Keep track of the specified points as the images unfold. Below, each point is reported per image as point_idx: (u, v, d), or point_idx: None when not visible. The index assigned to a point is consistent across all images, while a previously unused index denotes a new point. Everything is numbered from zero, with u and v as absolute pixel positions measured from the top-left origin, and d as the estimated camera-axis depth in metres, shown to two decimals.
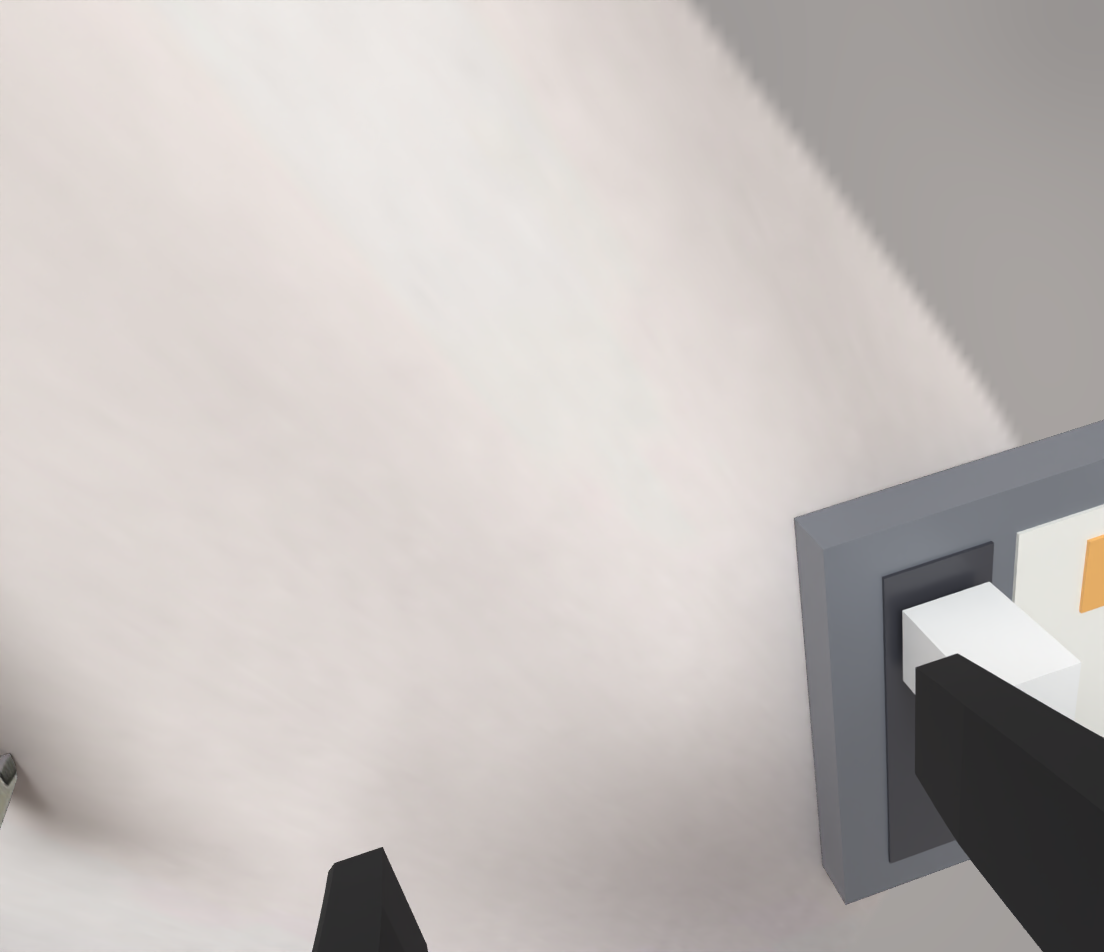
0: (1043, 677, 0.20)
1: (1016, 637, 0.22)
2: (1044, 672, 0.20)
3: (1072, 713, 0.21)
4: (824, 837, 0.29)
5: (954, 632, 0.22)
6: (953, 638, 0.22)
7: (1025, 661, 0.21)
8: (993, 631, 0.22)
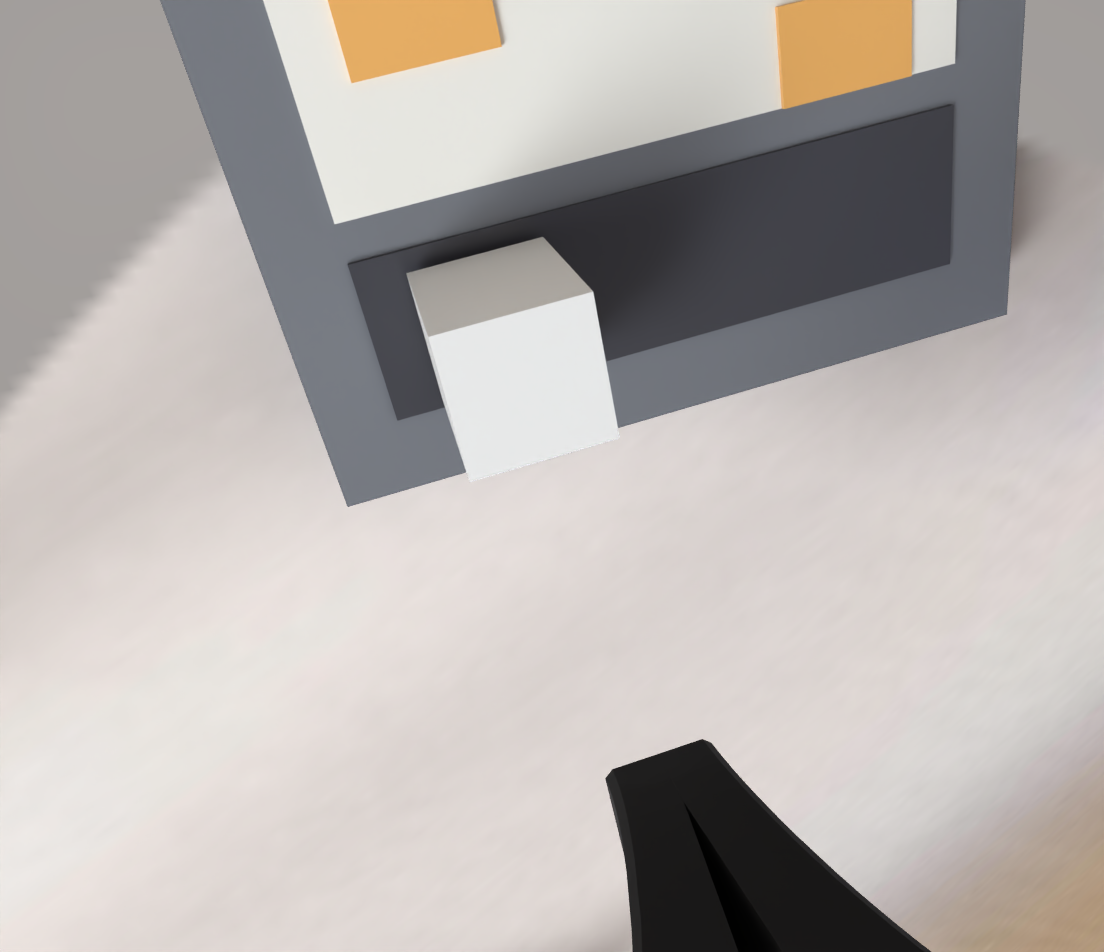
0: (448, 396, 0.13)
1: (430, 350, 0.14)
2: (443, 390, 0.13)
3: (538, 312, 0.13)
4: None
5: (442, 395, 0.15)
6: (445, 406, 0.15)
7: (442, 388, 0.14)
8: (433, 360, 0.15)
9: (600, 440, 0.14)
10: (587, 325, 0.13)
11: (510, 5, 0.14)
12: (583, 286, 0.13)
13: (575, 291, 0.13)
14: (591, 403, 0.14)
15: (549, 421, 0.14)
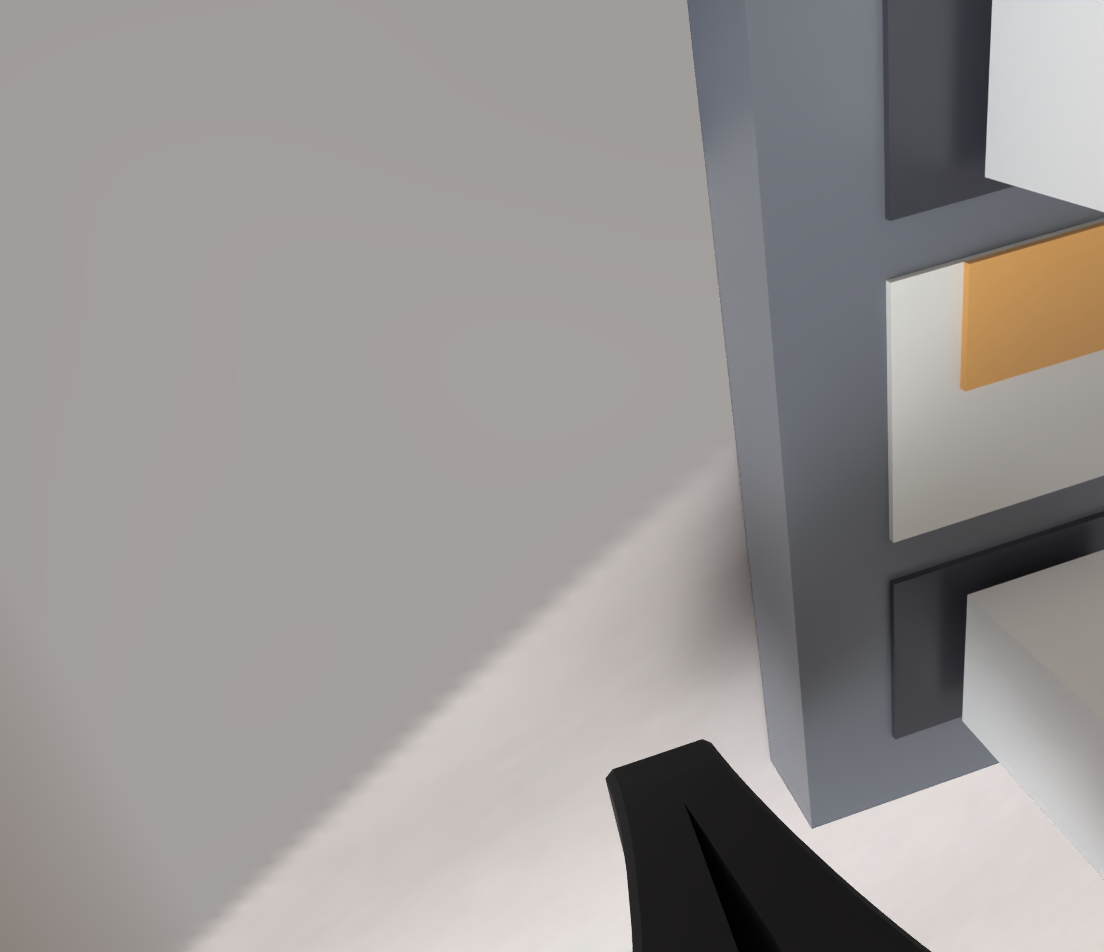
0: None
1: (1065, 732, 0.11)
2: None
3: None
4: None
5: (1019, 750, 0.12)
6: (1026, 766, 0.12)
7: None
8: (1041, 728, 0.12)
9: None
10: None
11: None
12: None
13: None
14: None
15: None
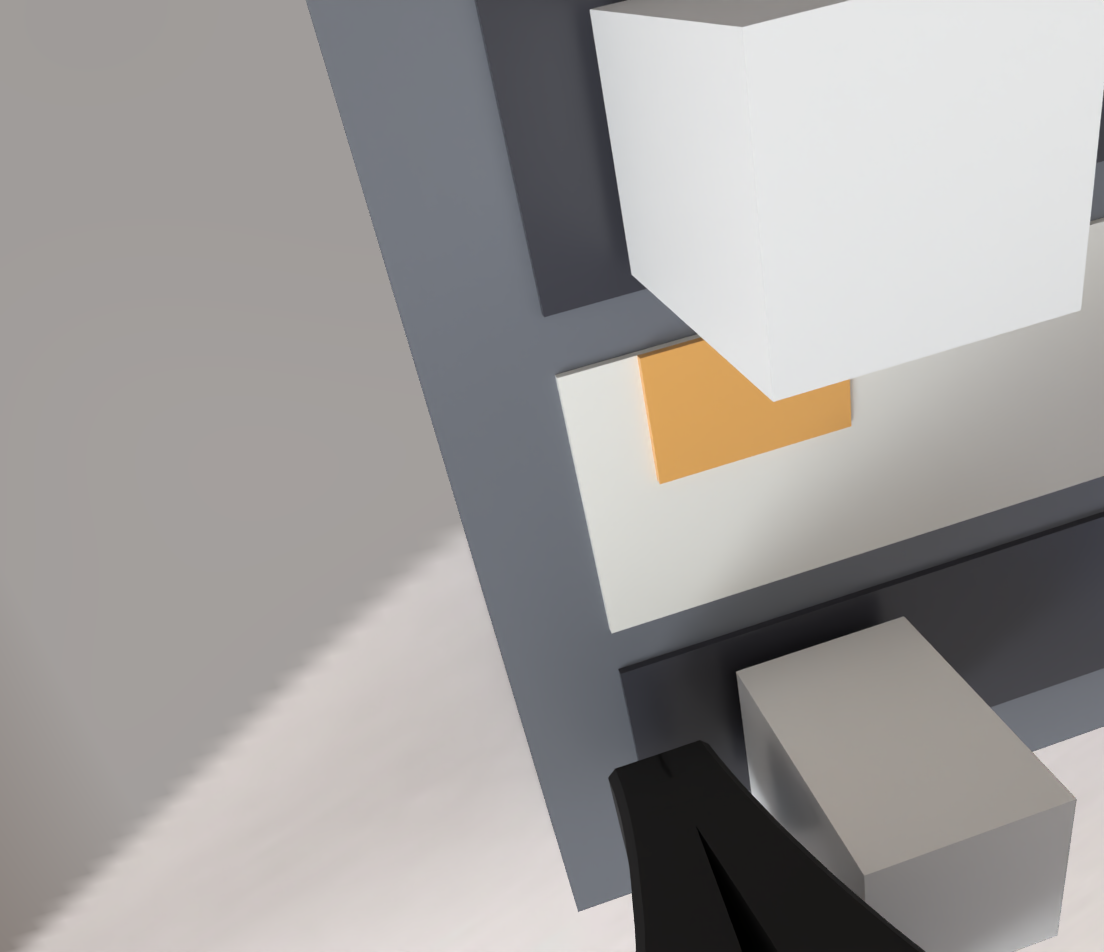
0: None
1: (809, 823, 0.11)
2: None
3: (1005, 830, 0.10)
4: None
5: None
6: None
7: None
8: (795, 815, 0.11)
9: (1034, 941, 0.11)
10: (1057, 834, 0.10)
11: (867, 376, 0.11)
12: (1051, 779, 0.10)
13: (1046, 792, 0.10)
14: (1036, 907, 0.10)
15: (982, 934, 0.10)
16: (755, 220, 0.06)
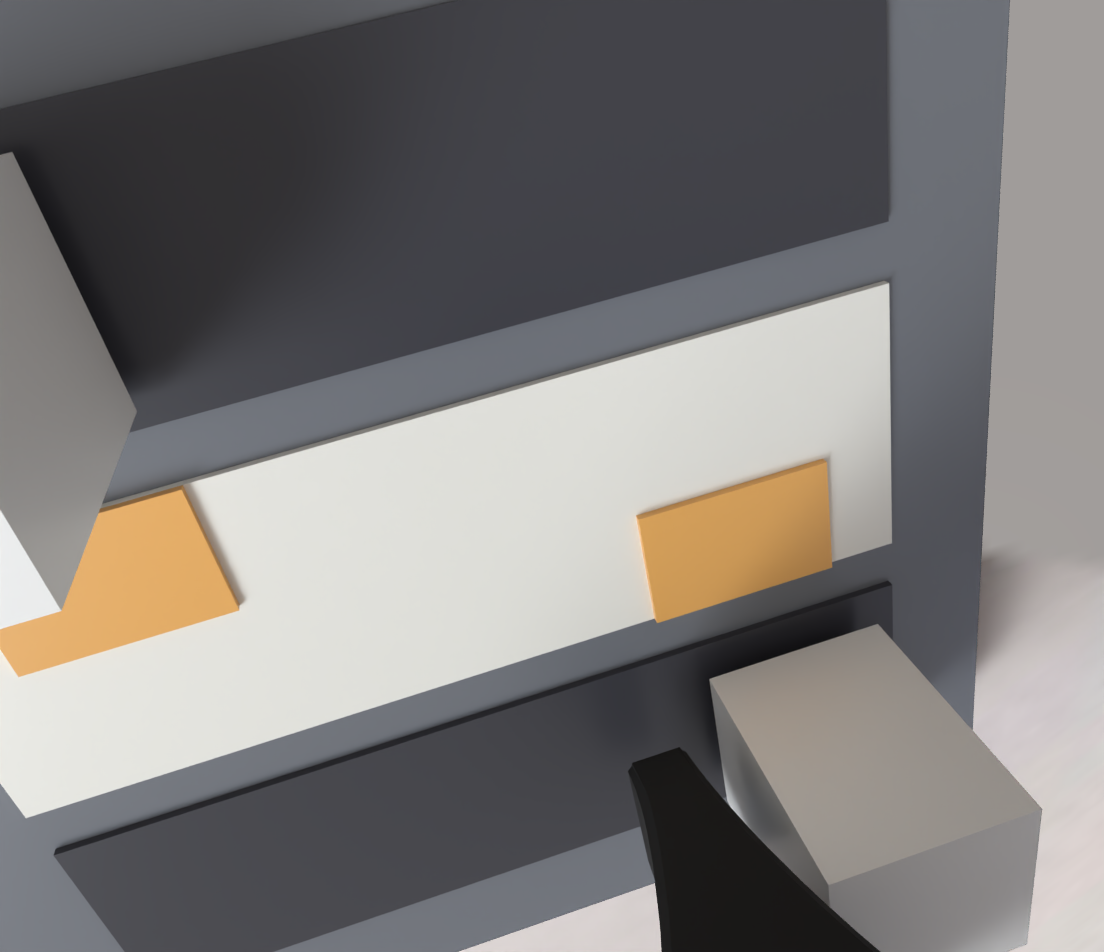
0: None
1: (778, 831, 0.11)
2: None
3: (969, 840, 0.10)
4: None
5: None
6: None
7: None
8: (766, 823, 0.11)
9: (1003, 950, 0.11)
10: (1024, 844, 0.10)
11: (248, 559, 0.10)
12: (1017, 788, 0.10)
13: (1011, 801, 0.10)
14: (1004, 916, 0.10)
15: (949, 942, 0.10)
16: None
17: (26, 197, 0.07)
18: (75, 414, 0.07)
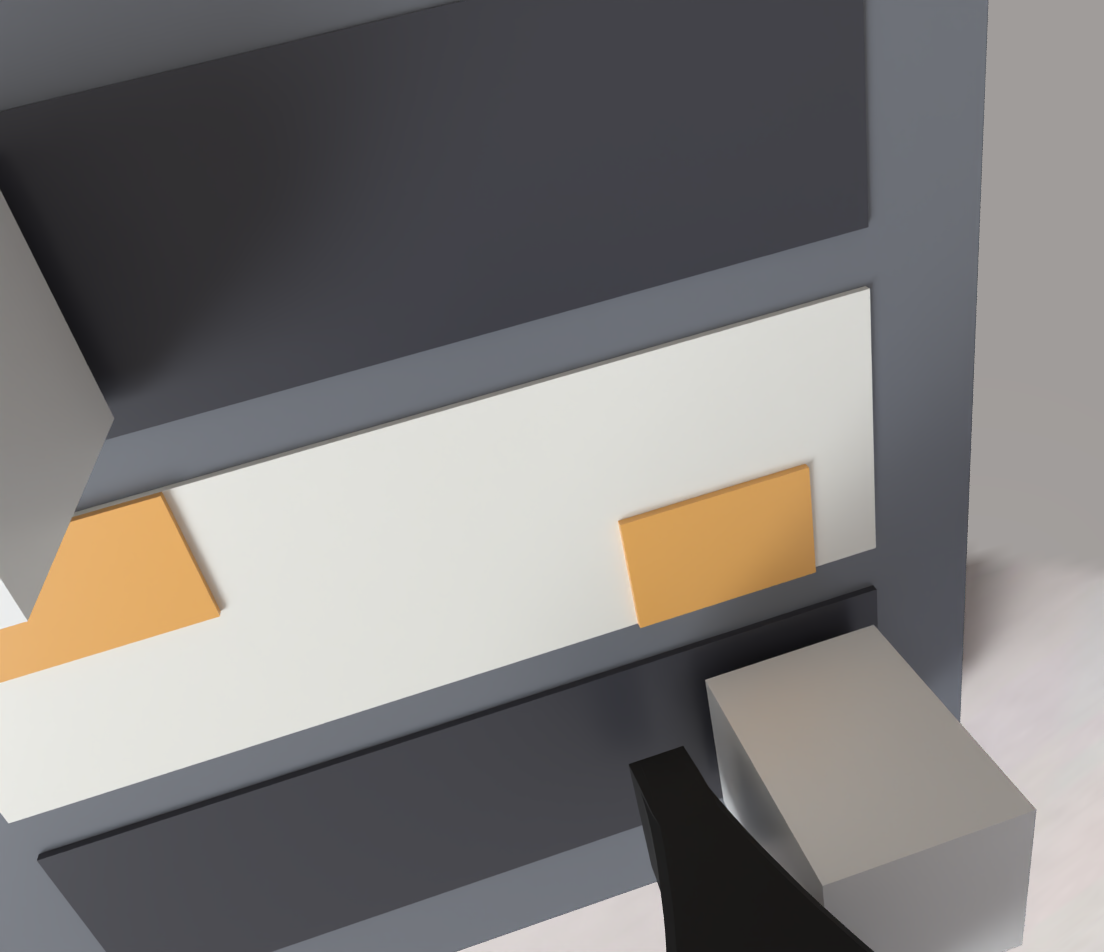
0: None
1: (773, 832, 0.11)
2: None
3: (963, 840, 0.10)
4: None
5: None
6: None
7: None
8: (762, 823, 0.11)
9: (998, 950, 0.11)
10: (1018, 843, 0.10)
11: (228, 565, 0.10)
12: (1011, 789, 0.10)
13: (1006, 802, 0.10)
14: (999, 917, 0.10)
15: (945, 942, 0.10)
16: None
17: None
18: (47, 423, 0.07)
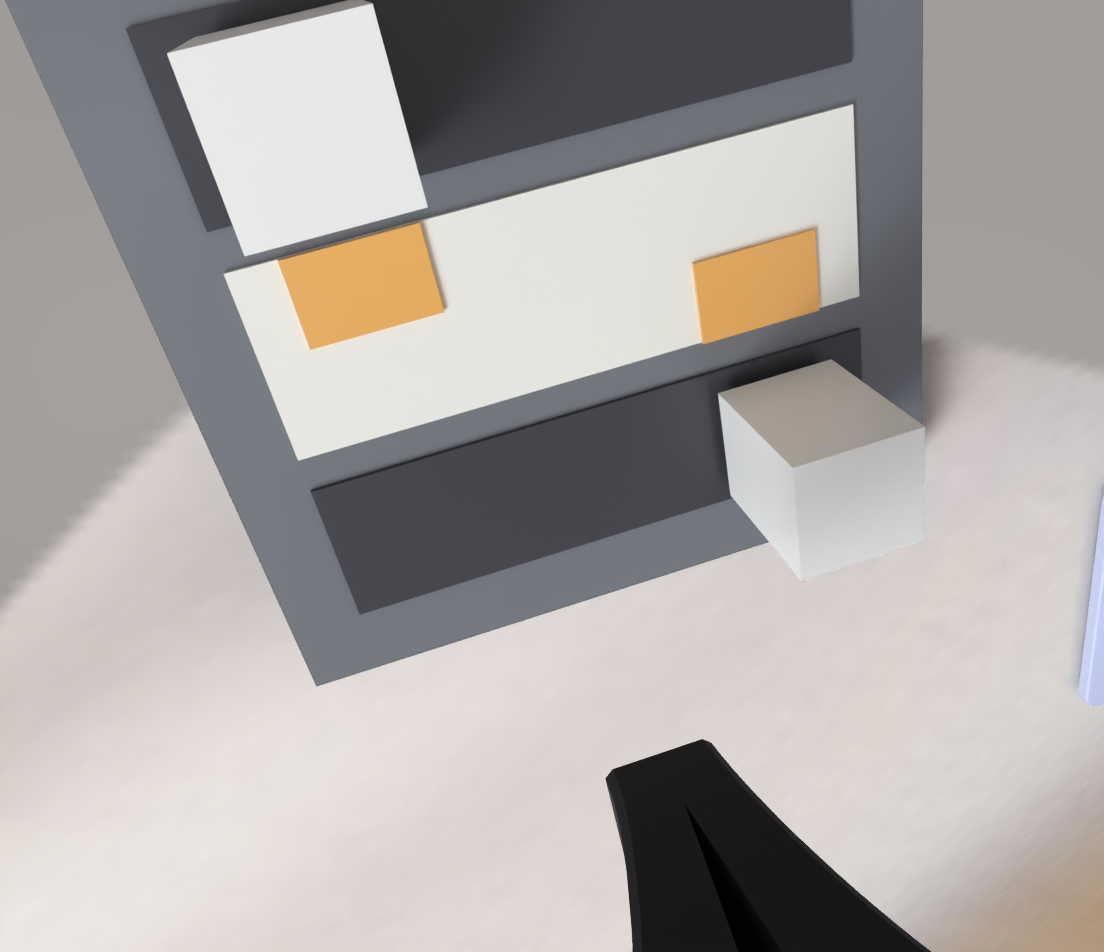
0: (798, 514, 0.16)
1: (763, 468, 0.17)
2: (794, 508, 0.16)
3: (880, 445, 0.15)
4: None
5: (752, 498, 0.18)
6: (756, 508, 0.18)
7: (783, 504, 0.16)
8: (756, 473, 0.17)
9: (909, 543, 0.17)
10: (915, 454, 0.16)
11: (451, 277, 0.16)
12: (911, 420, 0.16)
13: (907, 425, 0.16)
14: (907, 514, 0.16)
15: (873, 530, 0.16)
16: (205, 153, 0.11)
17: None
18: None
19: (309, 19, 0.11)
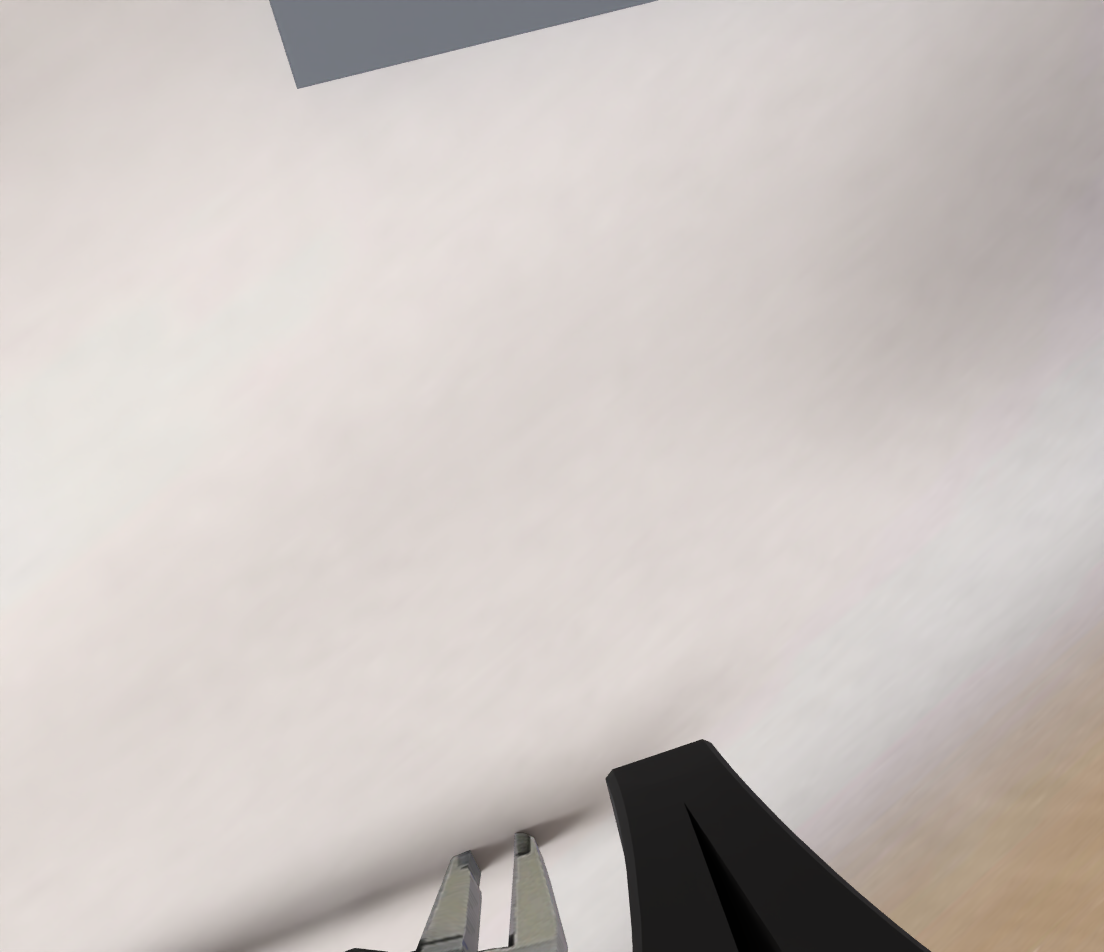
0: None
1: None
2: None
3: None
4: None
5: None
6: None
7: None
8: None
9: None
10: None
11: None
12: None
13: None
14: None
15: None
16: None
17: None
18: None
19: None
